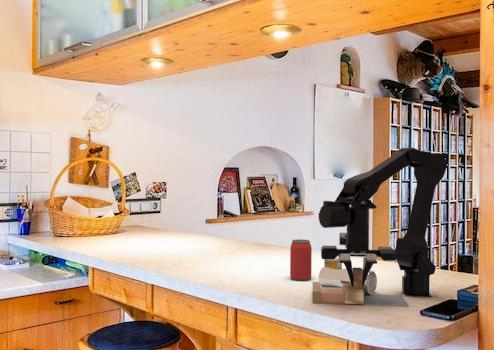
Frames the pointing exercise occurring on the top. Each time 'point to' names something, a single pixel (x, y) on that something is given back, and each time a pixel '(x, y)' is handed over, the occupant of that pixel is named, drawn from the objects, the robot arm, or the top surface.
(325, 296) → the tile
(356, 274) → the two-tone stepped block
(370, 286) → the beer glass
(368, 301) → the slate board
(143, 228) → the top surface
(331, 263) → the supplement bottle
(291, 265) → the beer can
